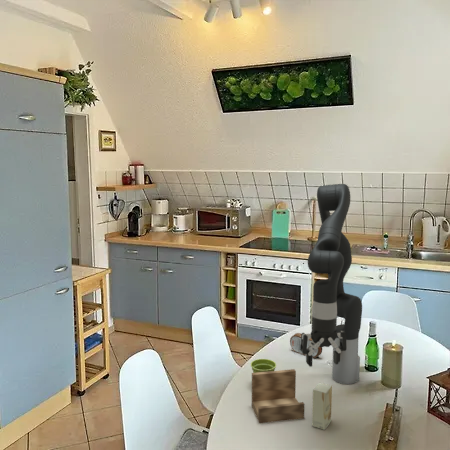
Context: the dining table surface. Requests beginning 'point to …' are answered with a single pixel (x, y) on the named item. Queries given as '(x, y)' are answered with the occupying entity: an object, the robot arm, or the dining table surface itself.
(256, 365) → the plant pot
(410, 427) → the dining table surface
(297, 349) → the tin
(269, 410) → the wooden holder
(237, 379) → the dining table surface
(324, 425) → the skincare box
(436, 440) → the dining table surface
